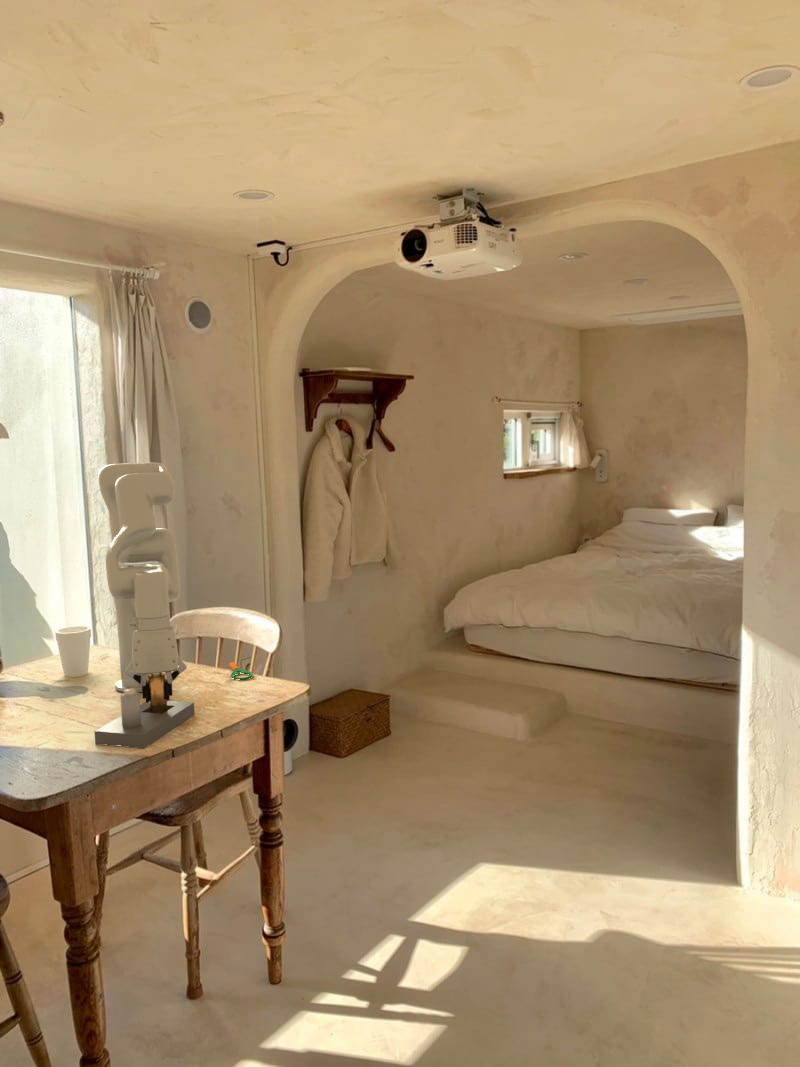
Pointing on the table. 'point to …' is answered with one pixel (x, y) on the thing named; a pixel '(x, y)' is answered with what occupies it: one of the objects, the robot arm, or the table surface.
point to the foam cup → (74, 649)
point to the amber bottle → (157, 693)
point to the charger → (142, 722)
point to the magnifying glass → (238, 670)
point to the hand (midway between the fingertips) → (157, 699)
